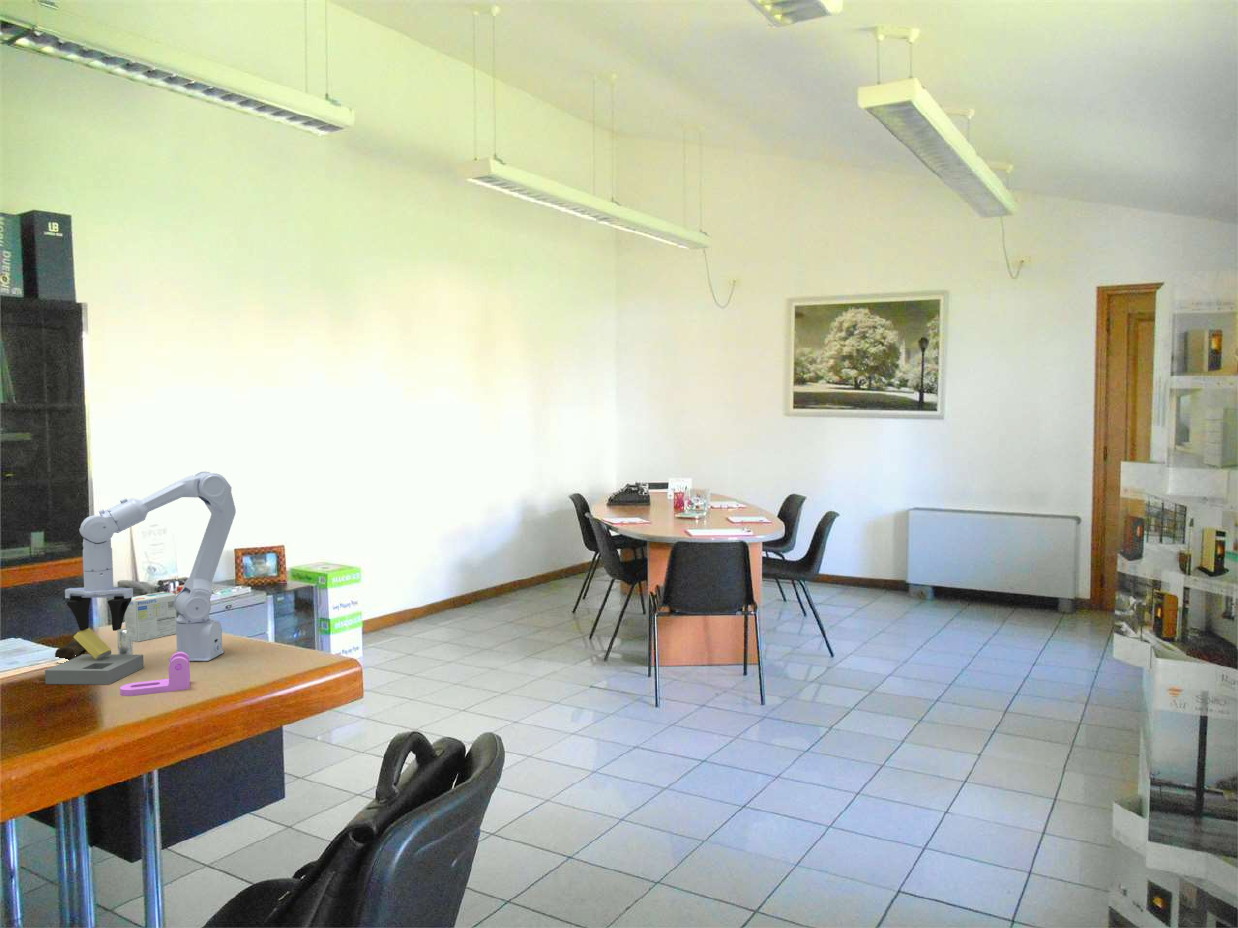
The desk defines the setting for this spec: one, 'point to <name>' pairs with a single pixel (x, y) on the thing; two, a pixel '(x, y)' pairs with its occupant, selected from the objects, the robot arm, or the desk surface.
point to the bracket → (176, 681)
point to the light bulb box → (151, 616)
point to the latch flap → (92, 643)
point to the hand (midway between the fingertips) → (100, 629)
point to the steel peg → (125, 641)
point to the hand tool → (70, 650)
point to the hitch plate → (94, 669)
